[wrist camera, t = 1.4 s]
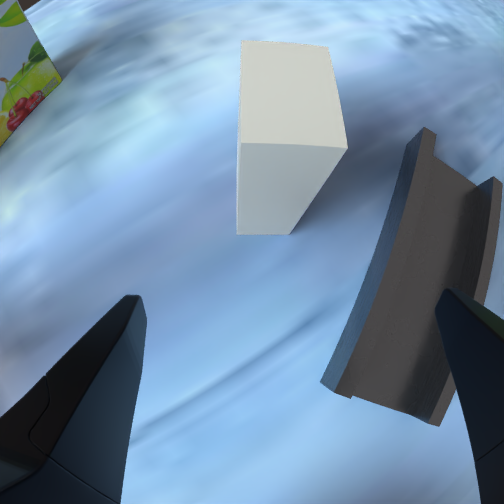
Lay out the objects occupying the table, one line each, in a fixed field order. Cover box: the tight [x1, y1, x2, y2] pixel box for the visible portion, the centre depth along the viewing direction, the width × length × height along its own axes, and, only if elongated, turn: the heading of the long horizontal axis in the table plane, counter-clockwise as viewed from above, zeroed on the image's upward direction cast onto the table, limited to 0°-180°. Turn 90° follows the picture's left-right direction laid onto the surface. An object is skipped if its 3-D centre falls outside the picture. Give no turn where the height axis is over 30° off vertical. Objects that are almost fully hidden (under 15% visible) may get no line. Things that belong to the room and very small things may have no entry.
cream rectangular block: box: [237, 41, 348, 235], centre depth 16 cm, size 5×4×12 cm
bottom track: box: [320, 127, 503, 426], centre depth 20 cm, size 20×9×3 cm, turn 155°
